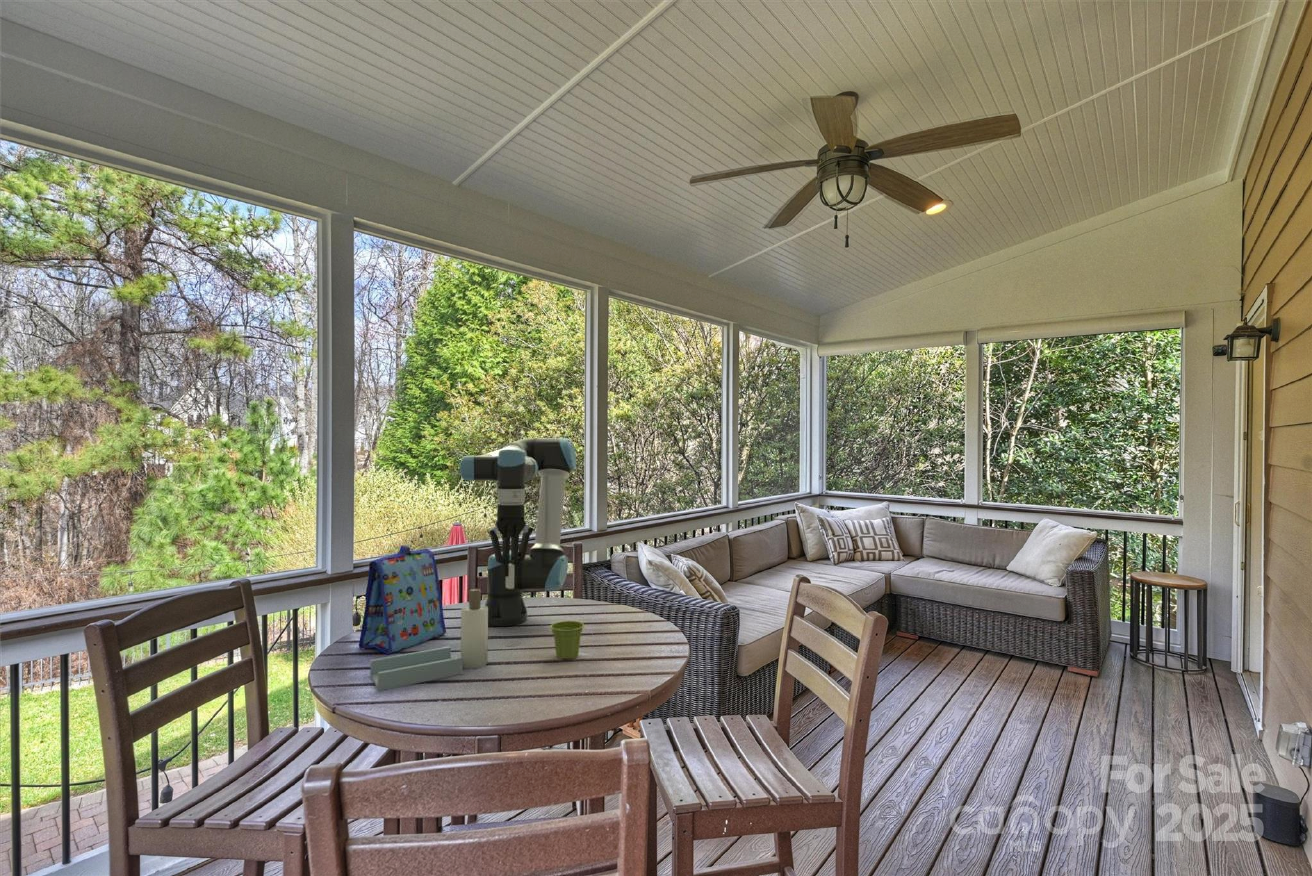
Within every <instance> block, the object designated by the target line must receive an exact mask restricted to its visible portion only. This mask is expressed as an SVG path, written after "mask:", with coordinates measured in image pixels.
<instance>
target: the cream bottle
mask: <svg viewBox="0 0 1312 876" xmlns="http://www.w3.org/2000/svg"><path fill="white" fill-rule="evenodd" d="M481 593H482V591H481V589H480V588H471V589H469V591H468V594H469V595H468V596H469V597H468V605H467V606H463V607H462V608H461V609H460V610H461V612H460V617H461V618H460V657H461V658H462V669H463V668H464V669H478V668H482V667H485V666H486V665H487V664H488V650H489V649H488V640H489V639H488V638H489V637H488V636H489V634H488V630H489V629H488V628H489V625H488V607H487V606H485V605H482V604H481V603H482V602H481V600H482V599H481V597H482V596H481V595H482V594H481Z"/></svg>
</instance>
